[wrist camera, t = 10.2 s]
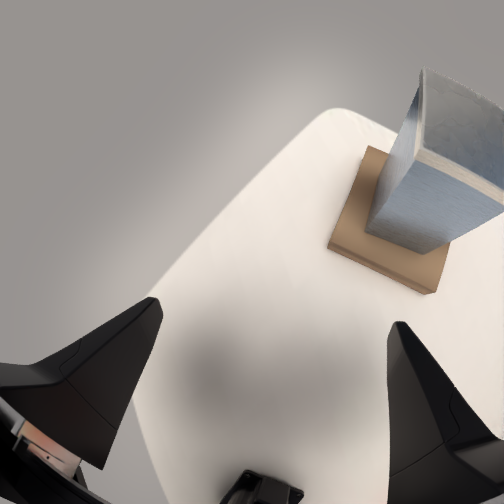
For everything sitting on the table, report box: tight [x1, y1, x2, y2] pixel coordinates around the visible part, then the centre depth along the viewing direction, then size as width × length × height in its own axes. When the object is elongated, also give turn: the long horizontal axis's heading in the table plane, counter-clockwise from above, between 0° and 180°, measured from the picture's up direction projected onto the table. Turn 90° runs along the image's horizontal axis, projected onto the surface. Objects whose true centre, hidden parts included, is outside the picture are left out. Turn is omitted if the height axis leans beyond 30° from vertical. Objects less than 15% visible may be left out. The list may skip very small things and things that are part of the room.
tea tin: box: [364, 66, 504, 255], centre depth 14 cm, size 6×6×12 cm
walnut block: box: [328, 145, 451, 295], centre depth 22 cm, size 10×10×3 cm
